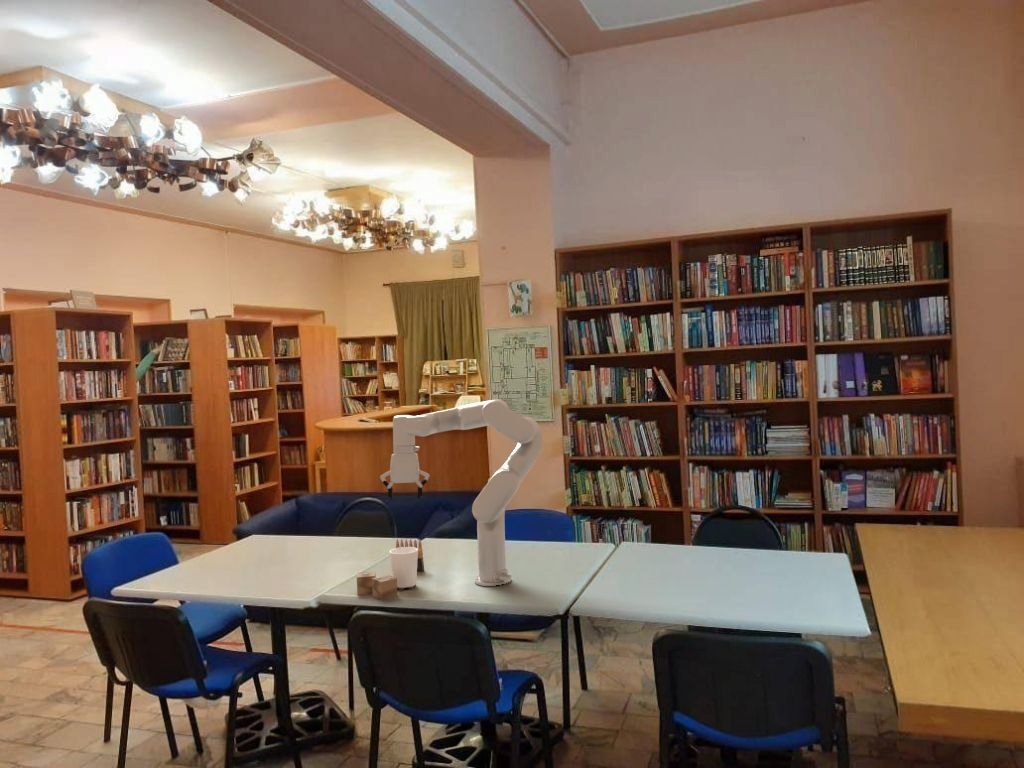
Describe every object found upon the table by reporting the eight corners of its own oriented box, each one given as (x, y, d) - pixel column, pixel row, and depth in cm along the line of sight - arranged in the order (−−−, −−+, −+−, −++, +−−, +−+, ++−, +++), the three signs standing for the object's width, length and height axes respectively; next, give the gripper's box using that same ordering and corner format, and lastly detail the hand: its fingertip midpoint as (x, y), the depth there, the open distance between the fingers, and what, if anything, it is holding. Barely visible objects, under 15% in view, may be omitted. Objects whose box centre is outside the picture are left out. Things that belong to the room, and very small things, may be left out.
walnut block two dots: (397, 596, 246) (396, 577, 245) (381, 600, 242) (380, 581, 242) (388, 592, 250) (387, 574, 250) (372, 596, 246) (371, 577, 246)
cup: (424, 583, 259) (422, 547, 259) (412, 591, 249) (411, 554, 249) (397, 582, 261) (396, 546, 261) (385, 590, 252) (384, 553, 252)
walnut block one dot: (376, 588, 255) (375, 570, 255) (375, 593, 249) (374, 575, 249) (358, 590, 254) (357, 572, 254) (357, 595, 248) (356, 577, 248)
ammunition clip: (395, 571, 276) (394, 539, 276) (397, 570, 278) (395, 538, 278) (422, 572, 274) (421, 539, 274) (424, 570, 276) (422, 538, 276)
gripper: (429, 448, 265) (430, 496, 265) (380, 449, 263) (381, 497, 264) (428, 450, 258) (429, 499, 258) (378, 452, 256) (379, 501, 256)
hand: (405, 498), depth 261 cm, fingers open, 9 cm apart
